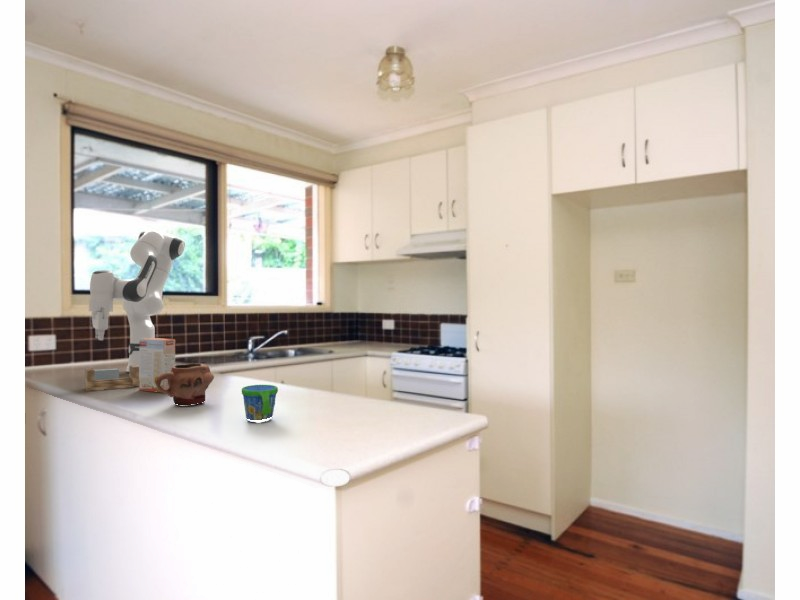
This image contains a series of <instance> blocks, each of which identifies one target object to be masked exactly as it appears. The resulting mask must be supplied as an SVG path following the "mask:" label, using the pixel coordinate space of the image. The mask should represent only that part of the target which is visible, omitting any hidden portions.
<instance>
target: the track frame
mask: <svg viewBox="0 0 800 600" xmlns="http://www.w3.org/2000/svg"><path fill="white" fill-rule="evenodd" d="M95 370H96V369H94V367H85V369H84V389H85V388H86V389H85V390H86V392H92V391H91V390H96V391H103V390H104V389H107V390H115V389H114V388H118V389H125V388H124V387H129V388H135V387H134V386H139V366H137V365H130V372H129V377H121V378H120V377H119V379H107V380H95V381H94V376H95Z"/></svg>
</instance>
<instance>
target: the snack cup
mask: <svg viewBox="0 0 800 600" xmlns="http://www.w3.org/2000/svg"><path fill="white" fill-rule="evenodd" d="M278 392H279V388H278V386H276V385H273V384H253V385H252V384H251V385H247V386H243V387H242V388H241V394H242V396H243V397H242V398H243V404H244V412H245V419H246V418H247V419H250V420H262V419H267V418H270V417H272V416H274V410H275V409H274V408H275V405H276V404H275V403H276V397H277V394H278ZM272 418H273V417H272ZM247 419H246V420H247Z"/></svg>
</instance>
